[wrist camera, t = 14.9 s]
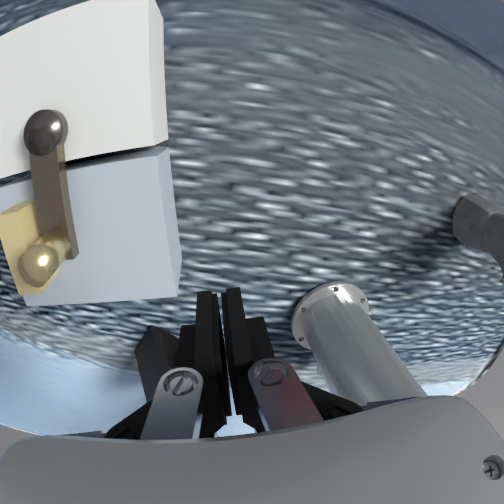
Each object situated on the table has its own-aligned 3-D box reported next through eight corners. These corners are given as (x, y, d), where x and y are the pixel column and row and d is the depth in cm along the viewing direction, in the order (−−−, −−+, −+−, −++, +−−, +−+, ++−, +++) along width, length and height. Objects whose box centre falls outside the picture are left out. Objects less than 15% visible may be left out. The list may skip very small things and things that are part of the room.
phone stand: (135, 349, 44) (122, 409, 33) (151, 324, 42) (140, 385, 31) (184, 372, 47) (184, 431, 36) (203, 349, 45) (206, 411, 34)
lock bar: (30, 114, 20) (-11, 117, 14) (67, 105, 20) (29, 104, 14) (49, 254, 25) (19, 287, 19) (83, 252, 26) (57, 287, 20)
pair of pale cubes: (182, 258, 39) (174, 322, 26) (54, 271, 37) (10, 328, 24) (163, 19, 26) (142, -30, 14) (23, 57, 24) (-40, 44, 12)
